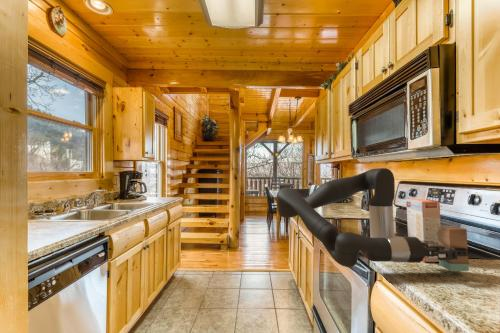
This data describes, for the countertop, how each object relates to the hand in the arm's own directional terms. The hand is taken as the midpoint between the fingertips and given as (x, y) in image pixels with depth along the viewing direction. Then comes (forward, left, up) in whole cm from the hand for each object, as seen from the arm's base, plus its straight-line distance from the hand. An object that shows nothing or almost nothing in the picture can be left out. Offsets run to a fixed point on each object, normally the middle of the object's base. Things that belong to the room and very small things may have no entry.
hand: (459, 249), depth 79 cm
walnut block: (0, -2, +7) cm, 7 cm away
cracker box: (-17, -1, -7) cm, 19 cm away
